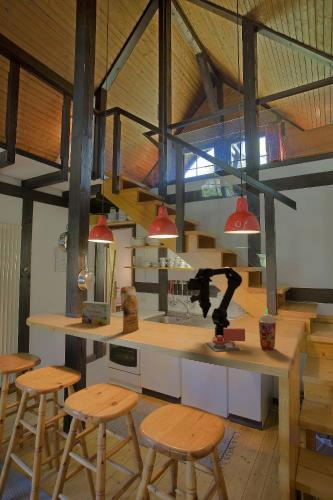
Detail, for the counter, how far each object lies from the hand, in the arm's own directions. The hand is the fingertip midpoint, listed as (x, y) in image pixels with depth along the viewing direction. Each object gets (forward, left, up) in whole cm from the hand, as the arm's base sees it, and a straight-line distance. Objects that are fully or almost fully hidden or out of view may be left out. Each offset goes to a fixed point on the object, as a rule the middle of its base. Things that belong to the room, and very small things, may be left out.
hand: (204, 317), depth 157 cm
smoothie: (-26, +22, -12) cm, 36 cm away
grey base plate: (-5, +16, -12) cm, 21 cm away
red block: (-7, +17, -10) cm, 21 cm away
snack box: (+64, -51, -12) cm, 83 cm away
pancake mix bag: (+41, -26, -12) cm, 50 cm away
